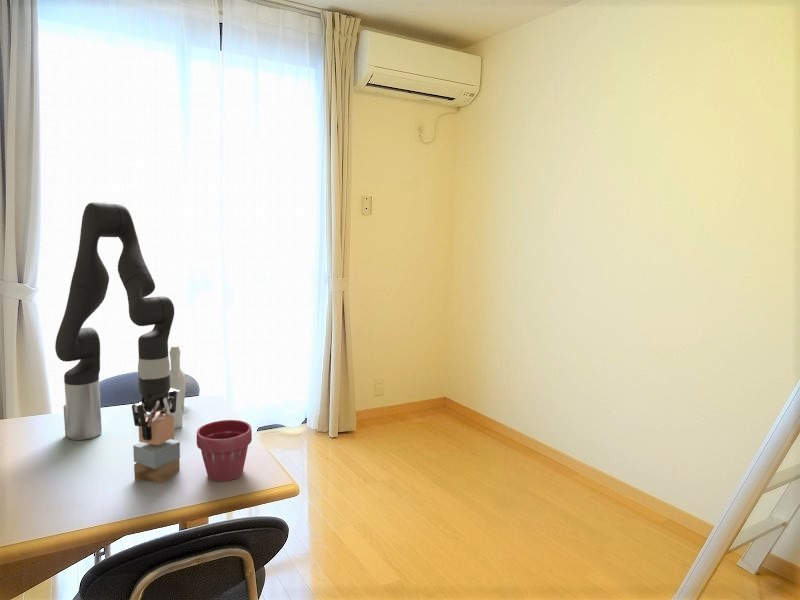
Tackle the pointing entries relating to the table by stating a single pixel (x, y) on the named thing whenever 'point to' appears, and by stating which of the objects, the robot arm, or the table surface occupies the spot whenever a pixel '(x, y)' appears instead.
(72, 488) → the table surface
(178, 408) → the skincare box
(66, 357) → the robot arm
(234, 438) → the plant pot
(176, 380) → the low poly bottle
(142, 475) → the bottom block
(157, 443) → the cube
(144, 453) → the top block
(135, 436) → the table surface
